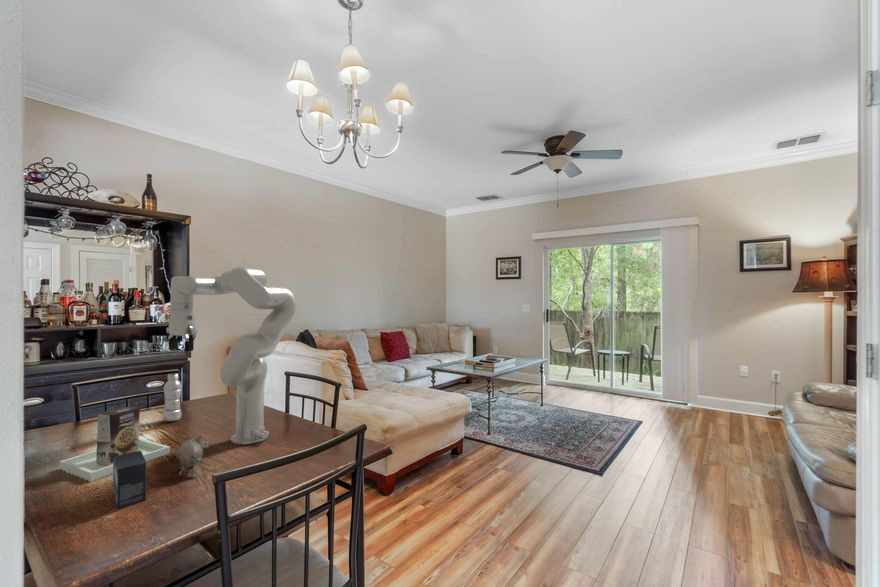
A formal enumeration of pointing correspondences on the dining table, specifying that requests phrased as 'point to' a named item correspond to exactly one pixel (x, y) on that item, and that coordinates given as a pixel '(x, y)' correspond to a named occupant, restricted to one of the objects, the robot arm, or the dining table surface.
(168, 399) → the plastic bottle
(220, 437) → the dining table surface
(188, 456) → the rhinoceros figurine
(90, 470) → the tray
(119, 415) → the coffee box
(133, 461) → the small box
